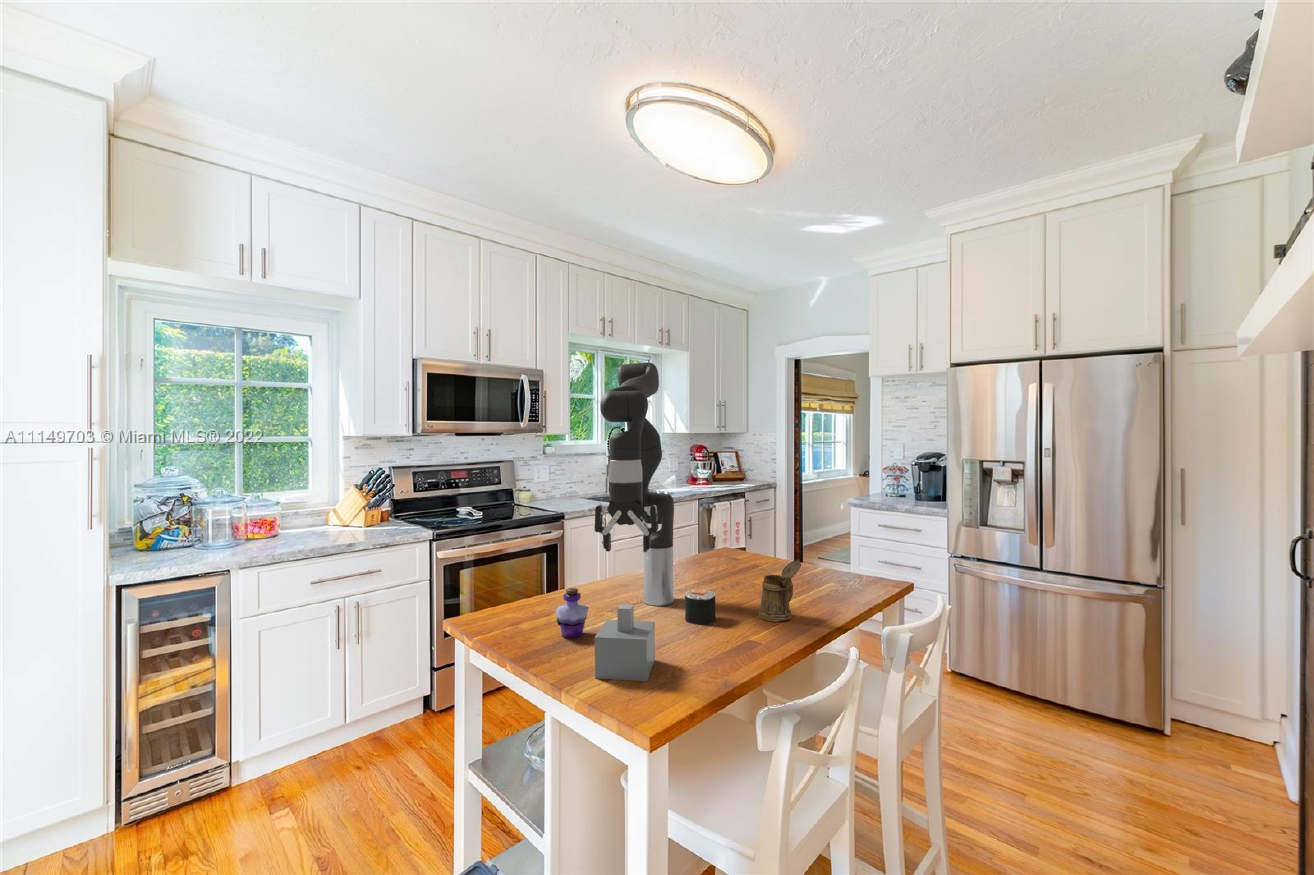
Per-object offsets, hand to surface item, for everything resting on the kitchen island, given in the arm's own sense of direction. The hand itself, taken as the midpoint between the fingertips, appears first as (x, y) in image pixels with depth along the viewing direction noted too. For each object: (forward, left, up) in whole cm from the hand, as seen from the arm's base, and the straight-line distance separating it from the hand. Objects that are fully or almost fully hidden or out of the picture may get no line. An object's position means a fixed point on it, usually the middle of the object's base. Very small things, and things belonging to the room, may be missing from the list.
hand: (626, 551), depth 127 cm
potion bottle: (-16, -18, -26) cm, 35 cm away
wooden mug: (-35, +36, -26) cm, 56 cm away
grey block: (+3, 0, -26) cm, 26 cm away
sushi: (-32, +14, -26) cm, 43 cm away
